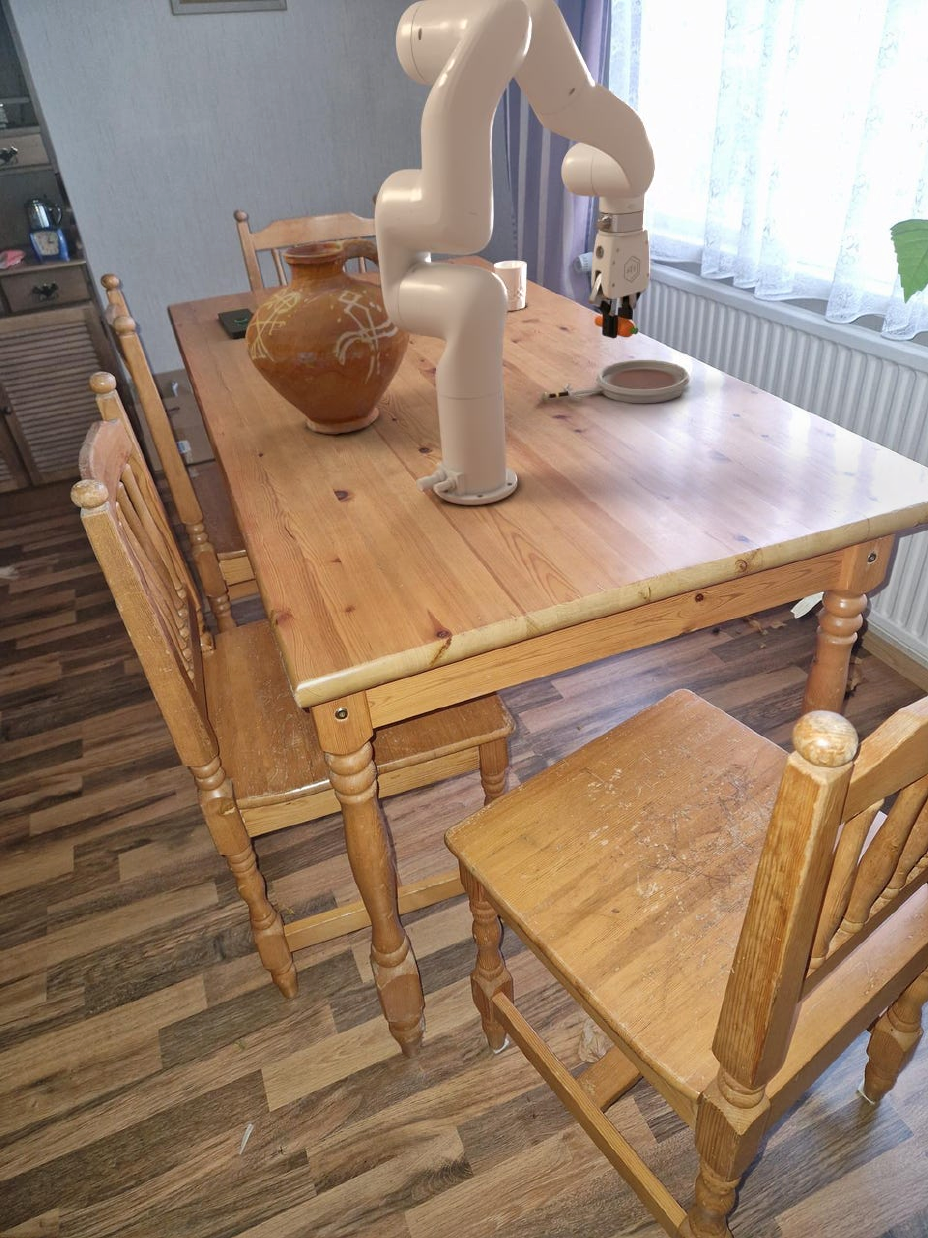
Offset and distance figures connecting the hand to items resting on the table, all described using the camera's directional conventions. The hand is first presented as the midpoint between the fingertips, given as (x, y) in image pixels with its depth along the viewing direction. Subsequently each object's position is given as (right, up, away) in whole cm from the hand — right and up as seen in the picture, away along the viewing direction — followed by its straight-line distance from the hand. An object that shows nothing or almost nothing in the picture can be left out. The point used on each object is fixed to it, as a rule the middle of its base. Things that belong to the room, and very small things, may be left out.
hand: (617, 333), depth 145 cm
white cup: (-16, +26, +56) cm, 64 cm away
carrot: (0, 0, 0) cm, 1 cm away
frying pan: (+1, -9, +6) cm, 11 cm away
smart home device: (-83, +22, +59) cm, 104 cm away
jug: (-49, -15, +4) cm, 52 cm away
